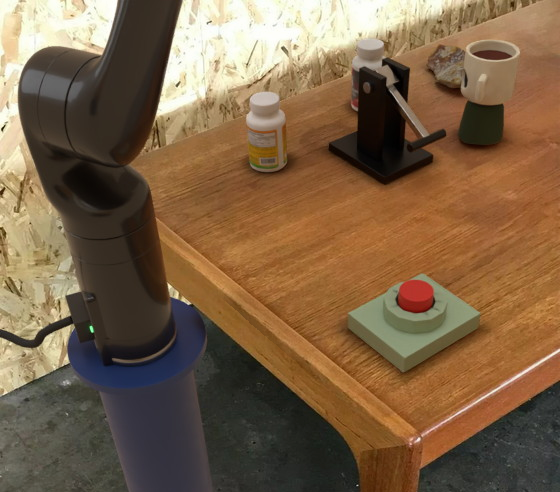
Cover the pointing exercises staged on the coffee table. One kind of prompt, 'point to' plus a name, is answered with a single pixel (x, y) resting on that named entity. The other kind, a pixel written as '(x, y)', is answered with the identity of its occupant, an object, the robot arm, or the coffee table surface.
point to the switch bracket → (380, 129)
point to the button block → (412, 325)
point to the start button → (415, 296)
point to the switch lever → (408, 113)
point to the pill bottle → (365, 63)
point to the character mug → (487, 89)
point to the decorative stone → (447, 65)
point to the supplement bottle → (266, 133)
